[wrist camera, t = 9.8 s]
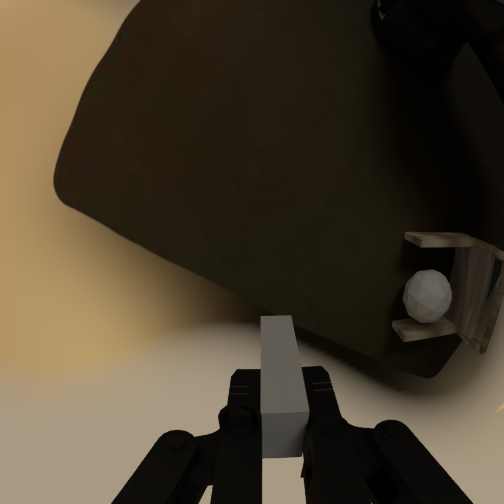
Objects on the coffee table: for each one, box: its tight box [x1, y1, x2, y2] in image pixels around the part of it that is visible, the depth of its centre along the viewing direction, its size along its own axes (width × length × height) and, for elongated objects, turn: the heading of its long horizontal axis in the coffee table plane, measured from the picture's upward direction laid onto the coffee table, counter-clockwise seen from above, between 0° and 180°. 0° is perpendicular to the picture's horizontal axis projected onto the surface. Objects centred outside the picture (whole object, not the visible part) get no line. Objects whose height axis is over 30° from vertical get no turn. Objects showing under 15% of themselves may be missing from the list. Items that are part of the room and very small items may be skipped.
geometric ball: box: [403, 269, 452, 323], centre depth 36 cm, size 8×8×8 cm
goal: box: [392, 232, 504, 354], centre depth 33 cm, size 12×15×13 cm
